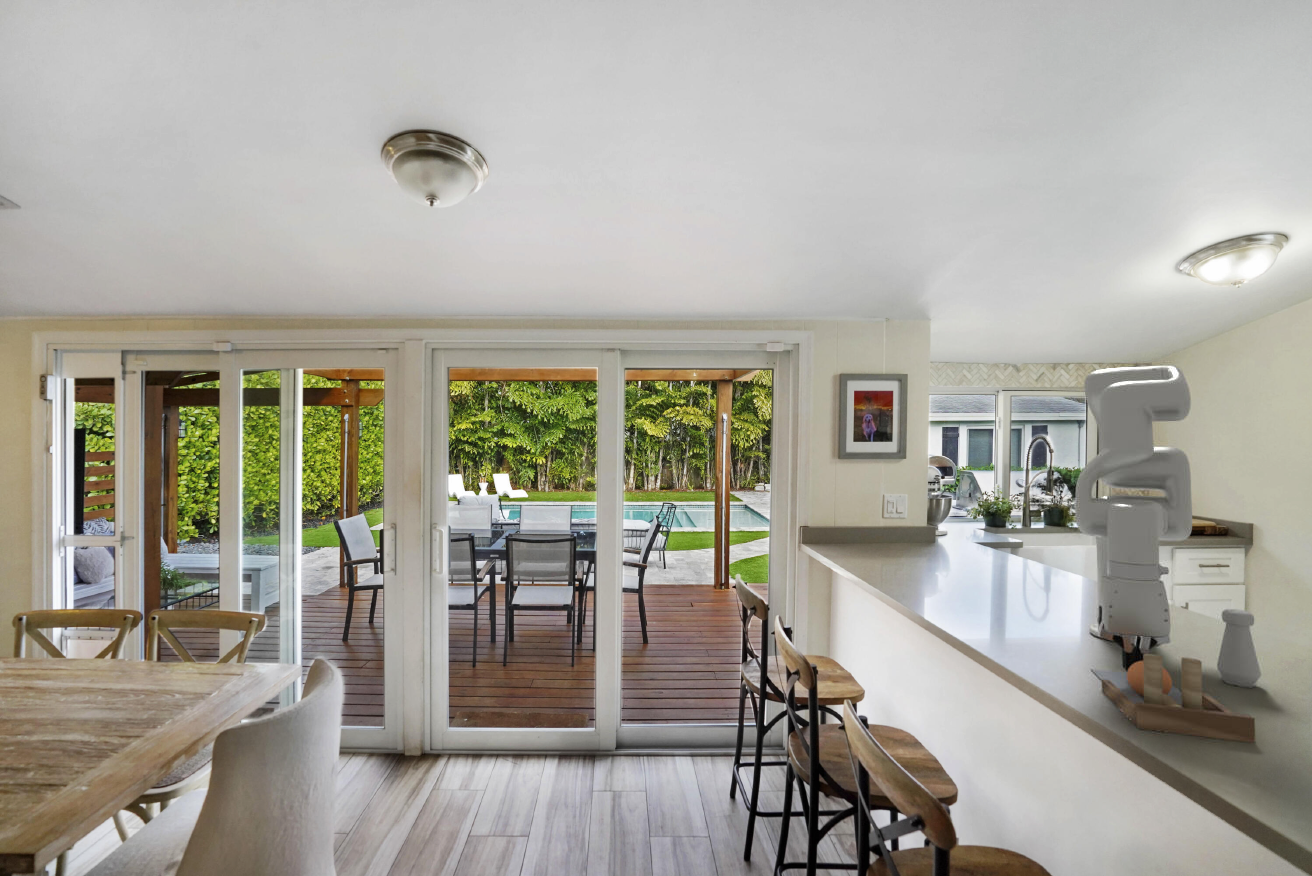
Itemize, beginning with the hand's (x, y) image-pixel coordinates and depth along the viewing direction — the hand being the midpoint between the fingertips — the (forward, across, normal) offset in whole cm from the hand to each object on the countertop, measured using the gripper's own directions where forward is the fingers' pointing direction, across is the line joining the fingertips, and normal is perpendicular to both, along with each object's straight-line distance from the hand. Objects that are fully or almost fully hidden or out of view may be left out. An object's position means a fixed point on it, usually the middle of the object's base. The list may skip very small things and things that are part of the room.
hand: (1133, 672), depth 114 cm
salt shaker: (+2, -18, -5) cm, 18 cm away
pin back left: (+2, -2, +15) cm, 16 cm away
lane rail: (+2, 0, +15) cm, 15 cm away
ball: (-2, 0, +8) cm, 8 cm away
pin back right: (+2, +2, +15) cm, 16 cm away
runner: (+2, 0, +9) cm, 9 cm away
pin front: (0, 0, +12) cm, 12 cm away
